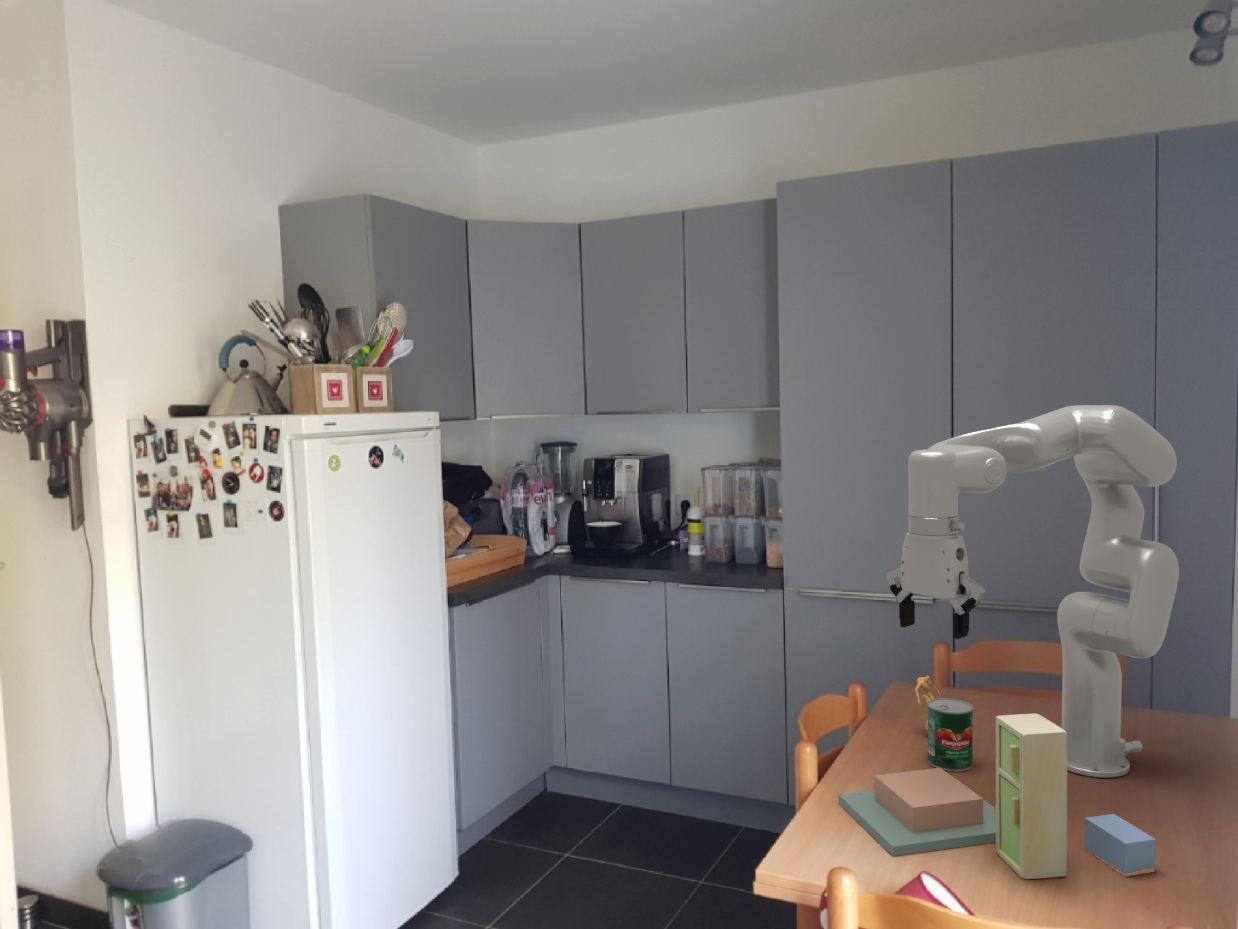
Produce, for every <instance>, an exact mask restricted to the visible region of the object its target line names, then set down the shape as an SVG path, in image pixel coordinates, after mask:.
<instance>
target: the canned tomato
mask: <svg viewBox="0 0 1238 929" xmlns="http://www.w3.org/2000/svg"><path fill="white" fill-rule="evenodd" d="M927 707H928V713H927V720H928V732H927V763H928V764H929V765H930V766H932V767H933V768H935V767H936V768H941V769H943V770H944V771H945V770H946V771H947V772H953V771H954V772H966V770H967V771H969V770H971V769H972V768H973V765H974V763H973V759H974V758H973V751H974V750H973V748H974V747H973V744H974V741H973V739H974V736H973V734H974V733H973V731H974V728H973V727H974V726H973V724H974V723H973V722H974V721H973V719H974V712H973V710H974V706H973V705H972V704H971V703H969V702H967V701H965V700H962V699H956V698H949V697H947V698H946V697H938V698H934V699H933V700H930V701H929V702H928V704H927ZM946 771H945V772H946Z"/></svg>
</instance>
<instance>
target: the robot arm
mask: <svg viewBox="0 0 1238 929" xmlns="http://www.w3.org/2000/svg"><path fill="white" fill-rule="evenodd" d="M1072 457H1073V460H1074V464H1075V469H1076V470H1077V472H1078V474H1079V475H1080V477H1081V478H1082V481H1083V482H1084V484H1085V486H1086V488H1087V490H1088V493H1089V497H1090V501H1091V510H1090V511H1091V512H1090V515H1089V516H1090V517H1089V521H1088V526H1087V529H1086V534H1085V538H1084V541H1083V546H1082V550H1081V554H1080V560H1079V572H1080V575H1081V577H1082V578H1083V579H1084V580H1085V581H1086V582H1087V583H1090V584H1093V585H1096V586H1099V587H1103V588H1108V589H1113V590H1117V591H1122V592H1126V593H1130V594H1129V599H1125V598H1120V597H1116V596H1112V595H1108V594H1102V593H1097V592H1093V591H1076V592H1073V593H1070V594H1068V595H1066V596H1065V597H1064V598H1063V599H1062V600H1061V601H1060V603H1059V605H1058V608H1057V613H1056V617H1057V618H1056V621H1057V628H1058V633H1059V637H1060V643H1061V654H1062V682H1061V683H1062V684H1061V686H1062V689H1061V692H1062V693H1061V728H1062V729H1064V730H1065V731H1066V732H1067V772H1068V771H1069V772H1072V773H1075V774H1078V775H1081V776H1087V777H1094V778H1106V779H1107V778H1117V777H1122V776H1125V775H1126V774H1128V773H1129V772H1130V766H1131V763H1130V761H1129V760H1128V758H1126V756H1127V755H1129V753H1141V752H1143V750H1144V746H1143V743H1142V742H1141V741H1140V740H1135V741H1134V740H1132V741H1127V742H1126V740H1125V738H1124V737H1123V738H1122V737H1121V730H1122V729H1121V726H1122V724H1121V722H1122V685H1123V684H1122V683H1123V682H1122V681H1123V679H1122V678H1123V675H1122V669H1121V664H1120V661H1119V659H1118V657H1117V654H1119V655H1122V656H1127V657H1131V658H1136V659H1148V658H1151V657H1153V656H1155V655H1156V654H1157V652H1159V651H1160V649H1161V647H1162V646H1163V643H1164V641H1165V638H1166V635H1167V632H1168V631H1167V630H1168V628H1169V622H1170V618H1171V614H1172V609H1173V606H1174V603H1175V602H1174V601H1175V597H1176V592H1177V588H1178V583H1179V579H1180V566H1179V561H1178V557H1177V556H1176V554H1175V552H1174V550H1172V548H1171V547H1170V546H1168V545H1166V544H1165V543H1161V542H1158V541H1154V540H1148V539H1147V540H1146V539H1141V535H1142V530H1143V526H1144V520H1145V508H1144V505H1143V504H1144V503H1143V502H1142V499H1141V497H1140V496H1139V494H1138V492H1137V490H1136V488H1135V487H1134V486H1138V487H1149V488H1151V487H1158V486H1159V487H1160V486H1162V485H1164V484H1166V483H1168V482H1169V481H1170V480H1171V479H1172V478H1173V476H1174V475H1175V473H1176V471H1177V467H1178V466H1177V465H1178V460H1177V455H1176V452H1175V448H1174V447H1173V446H1172V444H1171V443H1170V441H1168V440H1167V438H1166V437H1164V436H1163V435H1162V434H1161V433H1159V432H1158V431H1157V430H1156V429H1155V428H1153V426H1151V425H1150V424H1149V423H1148V422H1146V421H1145V420H1144V419H1142V417H1141V416H1139V415H1137V414H1135V412H1133V411H1131V410H1130V409H1128V408H1125V407H1123V406H1120V405H1113V404H1112V405H1111V404H1110V405H1109V404H1103V405H1102V404H1100V405H1099V404H1093V405H1091V404H1083V405H1082V404H1081V405H1080V404H1079V405H1077V404H1076V405H1069V406H1064V407H1061V408H1059V409H1056V410H1053V411H1050V412H1046V413H1044V414H1041V415H1038V416H1035V417H1032V418H1029V419H1027V420H1023V421H1020V422H1018V423H1017V422H1016V423H1012V424H1006V425H1001V426H997V427H994V428H988V429H984V430H979V431H973V432H969V433H964V434H960V435H958V436H957V435H956V436H955V437H950V438H948V439H946V440H943V441H939V442H936V443H935V444H932V445H931V446H929V448H927V449H917V450H914V451H912V452H911V453H910V454H909V456H908V459H907V460H908V461H907V464H908V465H907V472H908V473H907V475H908V476H907V477H908V478H907V480H908V481H907V484H908V485H907V487H908V488H907V490H908V494H907V495H908V497H907V498H908V499H907V500H908V506H907V508H908V510H907V512H908V513H907V514H908V532H906V533H905V535H904V540H903V545H902V551H901V560H900V567H897V568H895V569H893V570H890V571H889V572H886V573H885V578H886V580H887V583H888V585H889V586H890V587H889V590H890V591H891V593H892V594H893V596H894V597H895V601H896V602H897V603H898V605H899V606H898V607H899V608H898V610H899V612H898V615H899V616H898V617H899V626H900V627H901V628H907V627H909V626H912V625H915V623H916V619H915V618H916V617H915V615H916V611H915V610H916V606H915V604H916V603H915V600H914V599H913V597H915V596H919V597H920V596H921V597H926V598H931V599H938V600H943V601H949V603H950V605H951V606H952V607H953V609H954V610H955V613H953V615H952V637H953V638H954V639H955V640H960V639H963V638H965V637H968V635H969V632H970V613H971V612H972V611H974V609H975V608H976V607H977V606H978V605H979V604H980V603H981V600H982V598H983V596H984V594H985V592H986V589H985V588H986V587H984V586H983V585H982V584H980V583H978V582H977V581H976V580H975V579H973V578H971V577H970V571H969V570H970V568H969V559H968V554H967V553H968V552H967V548H966V543H965V538H964V535H959V532H962V531H963V532H964V531H965V528H966V526H965V525H966V524H965V523H964V522H962V521H959V520H960V518H959V493H975V494H984V493H985V494H986V493H989V492H992V491H994V490H996V489H998V488H999V487H1000V486H1001V485H1002V484H1003V483H1004V482H1005V480H1006V478H1007V476H1008V475H1007V474H1008V473H1024V472H1030V471H1031V472H1032V471H1038V470H1041V469H1044V468H1046V467H1049V466H1051V465H1054V464H1056V463H1058V462H1061V461H1064V460H1066V459H1070V458H1072ZM899 578H900V580H899ZM970 593H971V594H970ZM969 594H970V596H969V598H968V597H967V596H968V595H969ZM1128 771H1129V772H1128ZM1124 774H1125V775H1124Z"/></svg>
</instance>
